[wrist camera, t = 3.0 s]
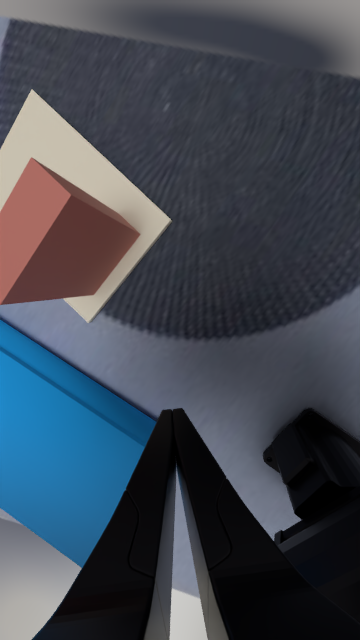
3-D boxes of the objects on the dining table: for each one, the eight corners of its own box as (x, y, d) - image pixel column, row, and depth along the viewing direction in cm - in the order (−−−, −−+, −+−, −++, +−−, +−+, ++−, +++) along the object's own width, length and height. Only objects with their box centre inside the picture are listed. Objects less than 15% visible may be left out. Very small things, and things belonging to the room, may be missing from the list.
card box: (140, 234, 19) (71, 194, 10) (93, 295, 21) (0, 304, 12) (118, 213, 19) (31, 156, 10) (73, 275, 21) (-34, 271, 12)
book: (94, 577, 23) (-99, 443, 24) (114, 531, 27) (-52, 419, 29) (175, 458, 19) (-64, 306, 20) (183, 425, 23) (-16, 302, 25)
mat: (172, 221, 19) (170, 219, 18) (91, 322, 22) (88, 322, 21) (36, 93, 19) (31, 89, 19) (-25, 210, 22) (-31, 208, 22)
